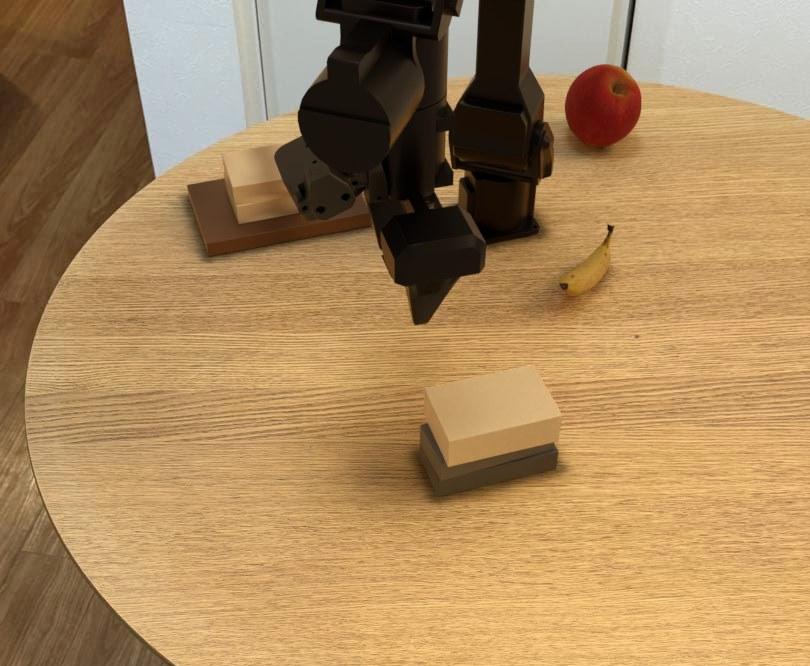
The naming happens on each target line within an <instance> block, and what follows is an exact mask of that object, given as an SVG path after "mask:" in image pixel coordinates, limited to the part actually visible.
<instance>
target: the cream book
mask: <svg viewBox="0 0 810 666" xmlns="http://www.w3.org/2000/svg"><path fill="white" fill-rule="evenodd" d="M423 416H424V418H425V420H426V423H428V425H429V427H430V429H431V431H432V433H433V436H434V438H435V440H436V442H437V444H438V446H439V449H440V451H441V453H442V455H443V457H444V459H445V462H446V464H447V466H448V467H451V466H455V465H459V464H463V463H468V462H472V461H476V460H480V459H485V458H489V457H493V456H498V455H502V454H506V453H510V452H515V451H519V450H523V449H527V448H532V447H536V446H540V445H544V444H549V443H553V442H555V443H556V442H559V441H560V438H561V437H560V436H561V429H562V422H563V413H562V412H561V410H560V408H559V407H558V405H557V403H556V401H555V399H554V398H553V396H552V394H551V393H550V391H549V389H548V387H547V385H546V383H545V382H544V380H543V378H542V377H541V375H540V373H539V371H538V370H537V368H536V366H535V364H534V363H530V364H527V365H522V366H517V367H514V368H513V367H512V368H508V369H504V370H500V371H495V372H490V373H485V374H481V375H477V376H471V377H467V378H463V379H458V380H453V381H449V382H445V383H440V384H436V385H430V386H425V387H423Z"/></svg>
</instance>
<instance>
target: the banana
mask: <svg viewBox="0 0 810 666" xmlns="http://www.w3.org/2000/svg"><path fill="white" fill-rule="evenodd" d="M614 229H615V225H612V224H609V223H607V224H606V230H607V235H606V236H605V238H604V239H603V242H602V243H601V244H599V246H597V247H596V248H595V250H594V251H593V252H591V254H590V255H589V256H588V257H587V258H585V259H584V260H583V261H582V262H580V263H579V264H578V265H577V266H576V267H574V269H572V270H571V271H568V272H567V273H565V274H564V275H563V276H561V277H560V278H559V279H558V282H557V285H558V286H559V288H560V289H561V291H562V292H563V293H564V294H565V295H567V296H578V295H580V294H583V293H586V292H587V291H590V290H591V289H592V288H593V287H595V285H597V284H598V283H599V281H601V279H602V278H603V277H604V276H605V274H606V272H607V271H608V269H609V266H610V264H611V263H610V262H611V256H612V254H611V253H612V252H611V241H612V237H613V232H614Z"/></svg>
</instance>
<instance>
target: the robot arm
mask: <svg viewBox="0 0 810 666" xmlns="http://www.w3.org/2000/svg"><path fill="white" fill-rule="evenodd" d="M463 4H464V0H317V1H316V7H315V12H314V14H315V20H316V21H320V22H325V23H331V24H336V25H339V36H340V40H339V45H338V46H336V47H334V49H333V50H332V51H331V52H330V54H329V55H328V56H327V59H326V65H325V67H323V69H322V71H321V72H320V73H319V75H318V76H317V77H316V78H315V79H314V81H313V82H312V84H311V85H310V86H309V87H308V89H307V90H306V92H305V93H304V95H303V96H302V98H301V100H300V104H299V107H298V110H297V125H298V128H299V132H300V134H301V135H300V136H298V137H296V138H294V139H292V140H290V141H288V142H285V143H286V144H284V145H283V146H281V147H280V148H279V149H278V150H277V151H276V152H275V155H274V160H275V162H276V165H277V167H278V170H279V173H280V175H281V178H282V180H283V183H284V185H285V187H286V188H287V190H288V192H289V194H290V196H291V198H292V200H293V202H294V203H295V205H296V207H297V209H298V211H299V213H300V215H301V217H302V218H303V219H304V220H306V221H314V220H321V221H326V220H328V219H330V218H332V217H334V216H336V215H338V214H340V213H342V212H345V211H347V210H349V209H351V208H352V207H353V206H354V204H355V201H356V197H357V196H359V195H360V194H361V195H362V193H363V196H364V201H365V203H366V205H367V207H368V210H369V214H370V217H371V226H372V228H373V231H374V235H375V239H376V242H377V247H378V248H379V250H380V251H381V252H382V254H381V255H380V256H381V258H382V261H383V263H384V266H385V267H386V270H387V272H388V274H389V276H390V278H391V279H392V281H393V283H394V284H396V285H398V286H401V287H404V288H405V293H406V298H407V302H408V307H409V308H408V309H409V312H410V317H411V321H412V324H413V325H414V326H421V325H426V324H428V323H429V322H430V321H431V319H432V318H433V316H434V314H436V312H437V310H438V309H439V308H440V306H441V305H442V303H443V302H444V300H445V299H446V298H447V296H448V294H449V293H450V292H451V290H452V289H453V287H454V286H455V285H456V284H457V282H458V281H459V280H460V279H461V278H462V277H468V276H472V275H473V276H474V275H478V274H481V272H482V271H483V270H484V269H485V267H486V259H487V258H486V256H487V244H490V243H496V242H500V241H505V240H511V239H515V238H520V237H525V236H530V235H536V234H538V233H540V229H541V226H540V225H539V223H538V221H537V220H536V218H535V217H534V215H535V207H536V206H535V205H536V194H537V186H538V187H539V185H540V183H541V181H542V180H545V179H547V178H550V177H552V174H553V172H554V171H553V170H554V162H555V153H554V151H555V149H554V143H555V136H554V133H553V131H552V129H551V126H550V124H549V122H548V121H545V120H544V115H545V99H546V98H545V97H546V95H545V92H544V90H543V88H542V86H541V84H540V82H539V80H538V79H537V78H536V75H535V74H534V72H533V70H532V69H531V67H530V58H531V46H532V36H533V35H532V34H533V24H534V23H533V22H534V11H535V0H478V5H477V6H478V7H477V8H478V9H477V10H478V11H477V29H476V31H477V32H476V49H475V50H476V55H475V72H474V73H475V74H473V76H472V78H471V79H470V81H469V82H468V84H467V86H466V87H465V89H464V91H463V92H462V94H461V96H460V97H459V99H458V101H457V102H456V104H455V107H454V109H453V108H452V107H451V104H450V103H449V101H448V99H447V98H448V69H449V68H448V67H449V66H448V65H449V64H448V63H449V35H450V33H449V31H450V25H451V23H452V20H453V19H452V18H453V17H456V18H460V16H461V12H462V8H463ZM446 132H448V133H447V134H448V135H447V134H446ZM446 135H447V136H446ZM446 137H447V138H446ZM446 139H447V140H448V148H449V149H448V150H449V156H450V158H449V159H450V163H449V161H448V159H447V157H446ZM454 170H456V171H458V170H460V171H464V172H463V173H464V174H463V177H462V176H461V177H460V178H459V180H458V196H457V197H458V198H457V202H456V204H455V205H449V206H443V205H442V202H441V201H440V199H439V197H438V195H437V193H436V192H435V191H436V190H435V189H439V188H444V187H445V188H446V187H451V186H454V174H455V172H454Z"/></svg>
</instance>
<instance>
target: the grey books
mask: <svg viewBox="0 0 810 666" xmlns="http://www.w3.org/2000/svg"><path fill="white" fill-rule="evenodd" d="M555 443H556V442H553V443H549V444H544V445H540V446H536V447H532V448H527V449H523V450H519V451H515V452H510V453H506V454H502V455H498V456H493V457H489V458H485V459H480V460H476V461H472V462H468V463H463V464H459V465H455V466H451V467H448V466H447V464H446V462H445V459H444V457H443V455H442V453H441V451H440V449H439V446H438V444H437V442H436V440H435V438H434V436H433V433H432V431H431V429H430V427H429V425H428V423H427V422H426V423H423V424H420V425H419V458H420V461H421V463H422V466H423V468H424V470H425V472H426V474H427V476H428V478H429V481H430V484H431V485H432V488H433V490H434V492H435V495H436V496H437V497H438V498H439V497H444V496H448V495H452V494H453V495H454V494H457V493H461V492H466V491H469V490H473V489H477V488H481V487H486V486H489V485H494V484H498V483H499V484H500V483H502V482H506V481H507V482H508V481H511V480H515V479H519V478H523V477H527V476H532V475H536V474H540V473H544V472H548V471H552V470H556V469H557V466H558V460H559V459H558V458H559V450H558V447H557V446H556V445H555Z"/></svg>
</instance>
